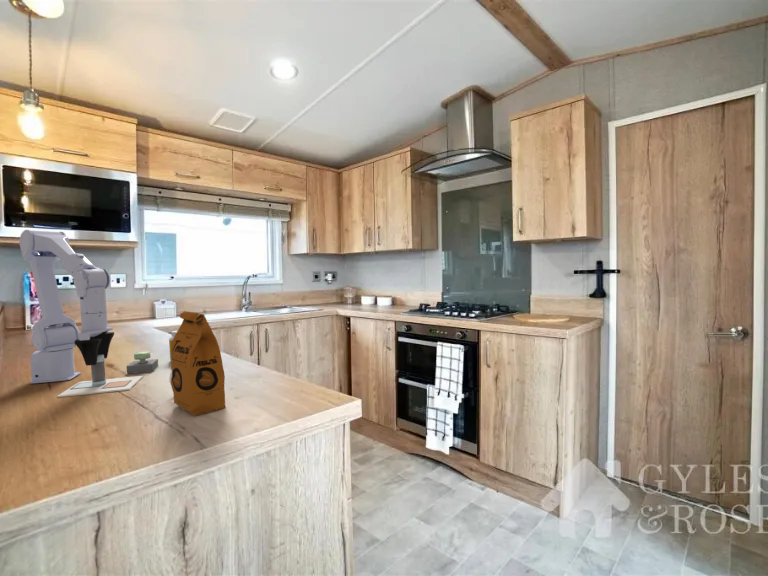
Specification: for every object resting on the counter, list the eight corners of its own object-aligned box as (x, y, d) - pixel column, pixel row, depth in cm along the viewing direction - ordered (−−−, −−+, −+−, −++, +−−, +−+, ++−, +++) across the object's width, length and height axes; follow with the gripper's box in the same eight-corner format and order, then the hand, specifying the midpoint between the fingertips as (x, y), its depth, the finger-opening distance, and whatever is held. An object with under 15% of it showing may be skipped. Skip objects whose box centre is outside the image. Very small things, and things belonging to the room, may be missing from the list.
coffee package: (185, 420, 82) (179, 316, 80) (168, 406, 91) (163, 312, 90) (232, 408, 89) (227, 312, 87) (212, 395, 98) (208, 308, 96)
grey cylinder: (90, 386, 106) (88, 357, 106) (94, 383, 109) (92, 355, 109) (103, 384, 107) (101, 356, 107) (107, 381, 110) (105, 353, 110)
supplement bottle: (171, 362, 133) (169, 333, 132) (169, 359, 138) (167, 331, 137) (189, 360, 136) (187, 331, 136) (187, 357, 141) (185, 329, 140)
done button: (132, 368, 122) (132, 355, 121) (137, 364, 126) (136, 352, 126) (148, 366, 123) (148, 353, 123) (152, 363, 127) (151, 351, 127)
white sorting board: (57, 397, 99) (57, 395, 99) (79, 383, 111) (79, 381, 111) (129, 390, 104) (129, 388, 104) (143, 376, 116) (143, 375, 116)
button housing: (127, 373, 120) (126, 366, 120) (134, 368, 127) (133, 361, 127) (152, 371, 122) (152, 363, 122) (158, 366, 129) (157, 358, 129)
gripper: (100, 315, 101) (103, 366, 102) (119, 309, 115) (122, 354, 116) (68, 316, 99) (71, 369, 100) (91, 310, 113) (94, 356, 114)
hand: (97, 361), depth 108 cm, fingers open, 7 cm apart
